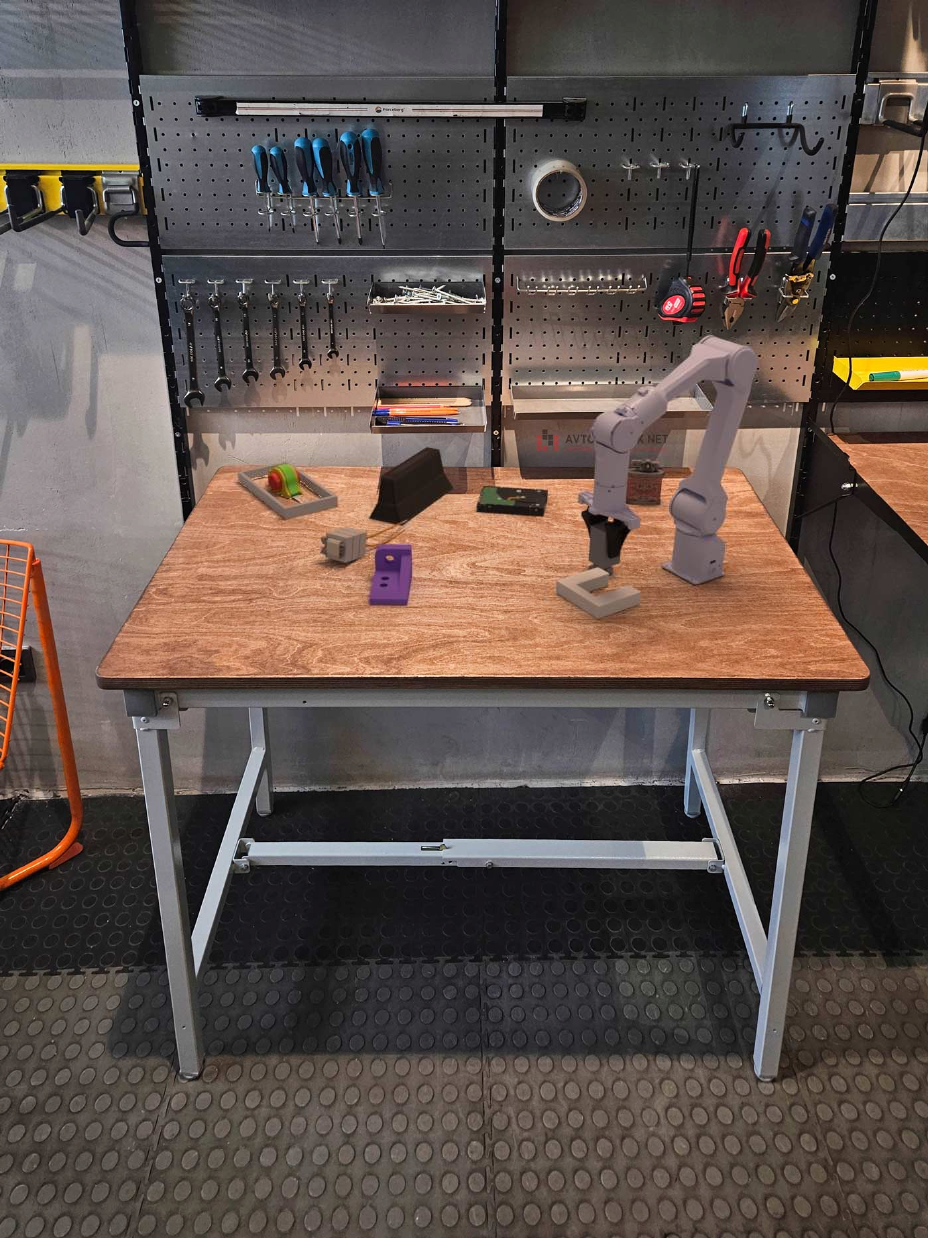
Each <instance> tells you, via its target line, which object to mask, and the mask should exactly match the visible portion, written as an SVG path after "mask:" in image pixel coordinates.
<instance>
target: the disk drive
mask: <svg viewBox="0 0 928 1238" xmlns="http://www.w3.org/2000/svg"><path fill="white" fill-rule="evenodd" d="M548 498H549V490H548V489H542V488H538V489H537V488H524V487H523V488H522V487H509V486H496V485H495V486H493V485H491V486H489V485H483V486H482V488H481V491H480V494H479V496H478V499H477V501H476V502H477V504H476V512H477V513H487V514H499V515H500V514H501V515H516V516H526V517H527V516H530V517H544V516H545V511H546V507H547V504H548V500H549V499H548ZM547 499H548V500H547Z"/></svg>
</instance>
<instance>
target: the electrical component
mask: <svg viewBox="0 0 928 1238" xmlns="http://www.w3.org/2000/svg"><path fill="white" fill-rule="evenodd" d="M406 521H407V520H405V521H403V522H401V523H398V524H396V525H395V524H393V525H392V526H389V527H387V528H384V529H382V530H380V531H377V532H375V533H373V534H371V535H369V536H367V535H368V534H367V533H368V532H367V531H364V530H360V529H356V528H354V527H350V526H349V527H348V526H344V527H341V528H337V529H334V530H330V531H327V532H326V533H325V536H324V535H323V536H321V537H320V541H321V543H322V545H324V546H323V547H322V548H321V550H320V551H319V553H320V554H321V555H324V557H325V558H326V559H330V560H334V561H339V562H340V563H345V564H346V563H349V562H351V561H354V560H358V559H360V558H363V557H365V556H366V551H367V550H366V549H367V548H374V547H378V546H380V545H382V544H387V543H388V542H390V541H393V540H395V539H396V538H397V537H399V536H400V535H401V534H404V532H406V531H407V530H408V529H409V528H410V527H411V525H409V526H408V527H406V528H405V529H403V530H402V531H400V532H399V533H397V534H396V535H395V536H392V537H390V538H389V539H387V540H385V541H382V542H379V543H376V544H367V540H368V539H372V538H374V537H376V536H378V535H380V534H383V533H385V532H387V531H389V530H391V529H393V528H395V527H398V526H399V525H400V524H402V523H404V522H406Z"/></svg>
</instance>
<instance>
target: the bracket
mask: <svg viewBox="0 0 928 1238" xmlns="http://www.w3.org/2000/svg"><path fill="white" fill-rule="evenodd" d="M412 546H413V545H412V544H402V543H401V544H395V543H393V544H392V543H384V544H382V545H379V546H376V549H375V553H374V574H373V578H372V582H371V587H370V591H369V605H370V606H371V605H372V606H408V604H409V599H410V591H411V587H412V580H413V547H412ZM387 557H392V558H393V559H388V558H387Z"/></svg>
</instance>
